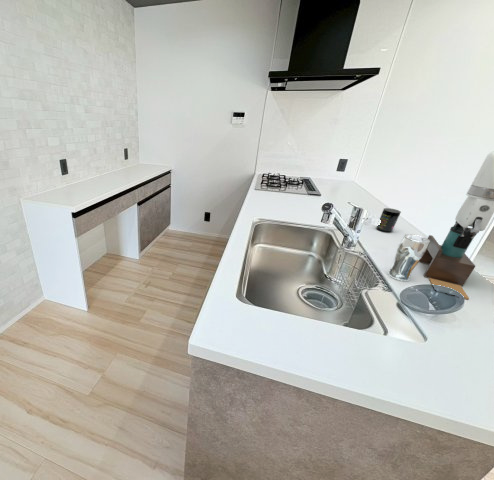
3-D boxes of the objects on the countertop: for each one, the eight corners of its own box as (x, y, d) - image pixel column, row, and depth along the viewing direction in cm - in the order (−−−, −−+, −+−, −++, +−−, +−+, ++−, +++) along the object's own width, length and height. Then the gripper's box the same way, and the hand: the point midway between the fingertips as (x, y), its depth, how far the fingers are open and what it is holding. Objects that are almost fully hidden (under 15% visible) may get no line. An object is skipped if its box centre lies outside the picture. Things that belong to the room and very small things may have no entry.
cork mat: (459, 286, 86) (460, 285, 86) (468, 299, 80) (469, 298, 80) (428, 279, 90) (429, 277, 90) (434, 291, 84) (435, 289, 84)
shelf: (450, 267, 97) (465, 241, 93) (462, 286, 87) (480, 258, 82) (416, 260, 102) (429, 235, 97) (424, 276, 91) (439, 249, 86)
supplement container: (390, 234, 125) (399, 213, 120) (374, 229, 129) (382, 209, 124) (393, 230, 129) (402, 210, 124) (377, 226, 133) (385, 207, 129)
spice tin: (459, 252, 92) (473, 229, 88) (465, 259, 87) (480, 235, 83) (436, 247, 94) (448, 225, 90) (441, 254, 90) (454, 231, 86)
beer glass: (410, 284, 87) (430, 245, 80) (384, 276, 91) (402, 238, 84) (411, 276, 91) (431, 238, 85) (387, 268, 95) (404, 231, 89)
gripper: (516, 201, 73) (481, 257, 80) (490, 189, 86) (462, 237, 94) (479, 197, 76) (448, 250, 84) (459, 185, 89) (435, 232, 97)
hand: (456, 243), depth 89 cm, fingers closed on spice tin, 6 cm apart
